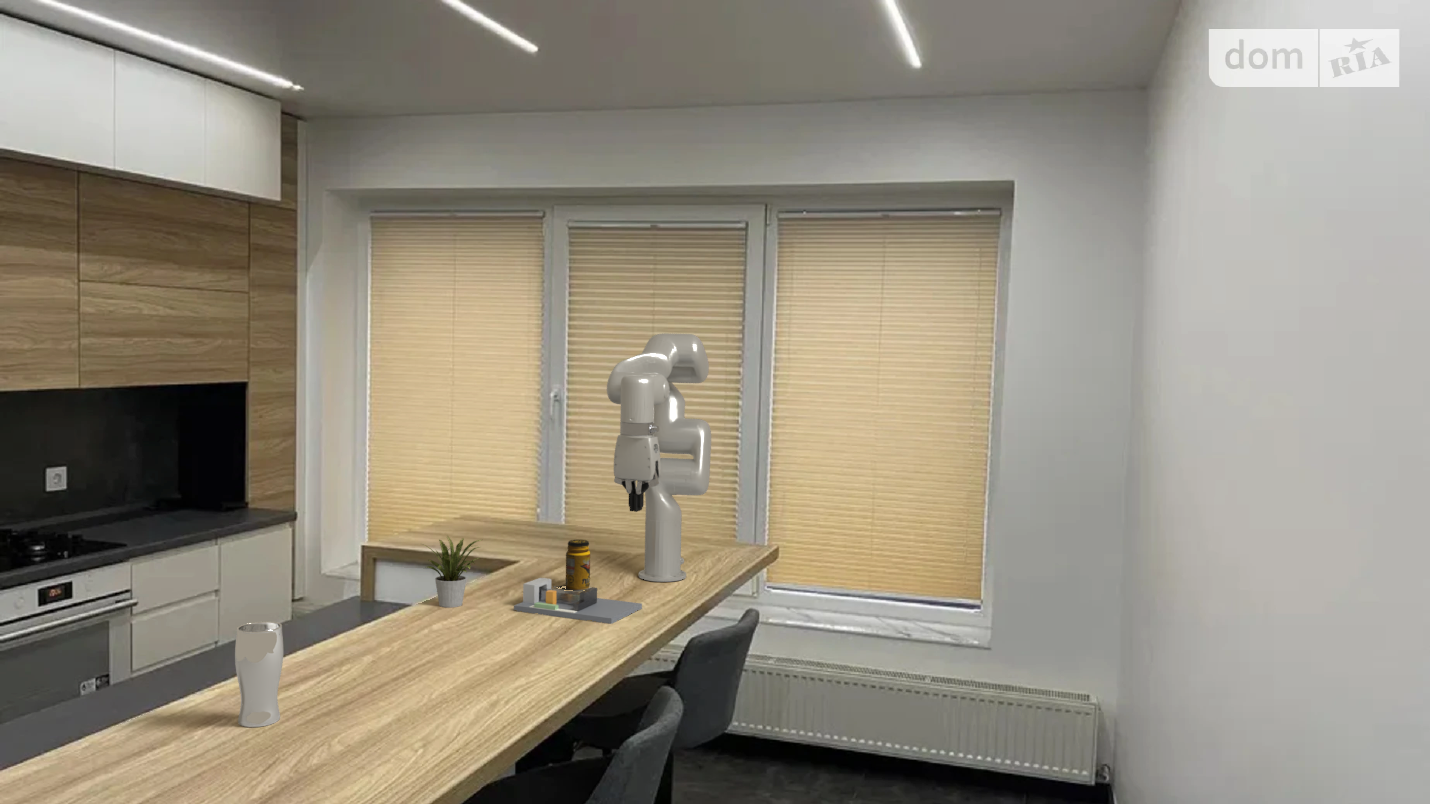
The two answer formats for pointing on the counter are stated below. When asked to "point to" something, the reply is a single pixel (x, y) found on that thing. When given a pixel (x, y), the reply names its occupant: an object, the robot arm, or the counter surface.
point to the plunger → (572, 597)
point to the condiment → (577, 566)
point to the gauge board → (597, 612)
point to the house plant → (451, 574)
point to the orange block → (551, 597)
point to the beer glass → (259, 672)
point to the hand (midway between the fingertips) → (635, 510)
